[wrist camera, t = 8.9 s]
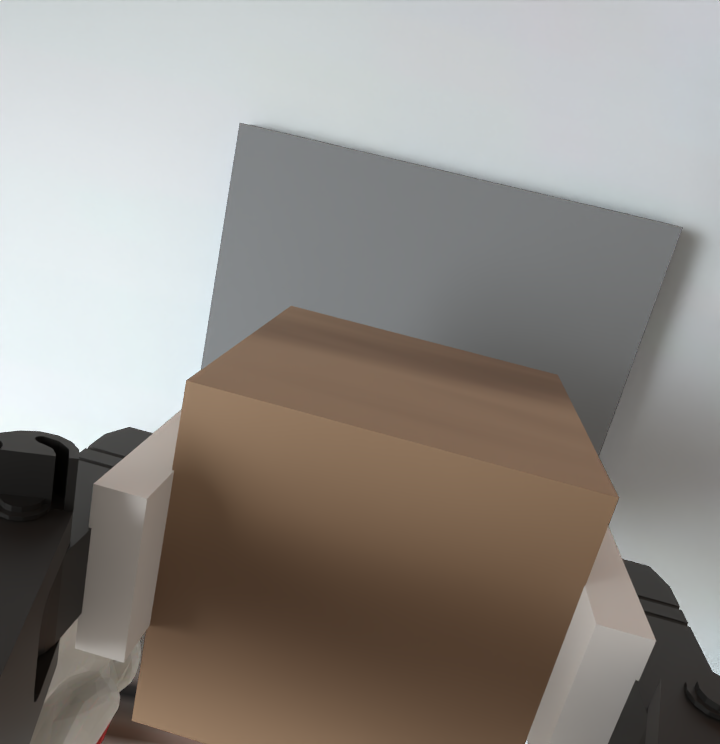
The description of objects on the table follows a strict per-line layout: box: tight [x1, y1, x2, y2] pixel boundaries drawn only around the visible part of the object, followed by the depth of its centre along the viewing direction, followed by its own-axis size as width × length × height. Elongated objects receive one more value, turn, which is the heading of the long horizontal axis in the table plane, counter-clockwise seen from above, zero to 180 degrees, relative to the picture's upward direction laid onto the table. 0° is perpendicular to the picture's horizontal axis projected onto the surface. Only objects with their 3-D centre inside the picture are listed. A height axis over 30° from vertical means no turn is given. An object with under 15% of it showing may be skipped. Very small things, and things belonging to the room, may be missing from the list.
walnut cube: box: [132, 306, 619, 744], centre depth 13 cm, size 6×6×6 cm
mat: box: [201, 123, 683, 456], centre depth 20 cm, size 12×12×1 cm
